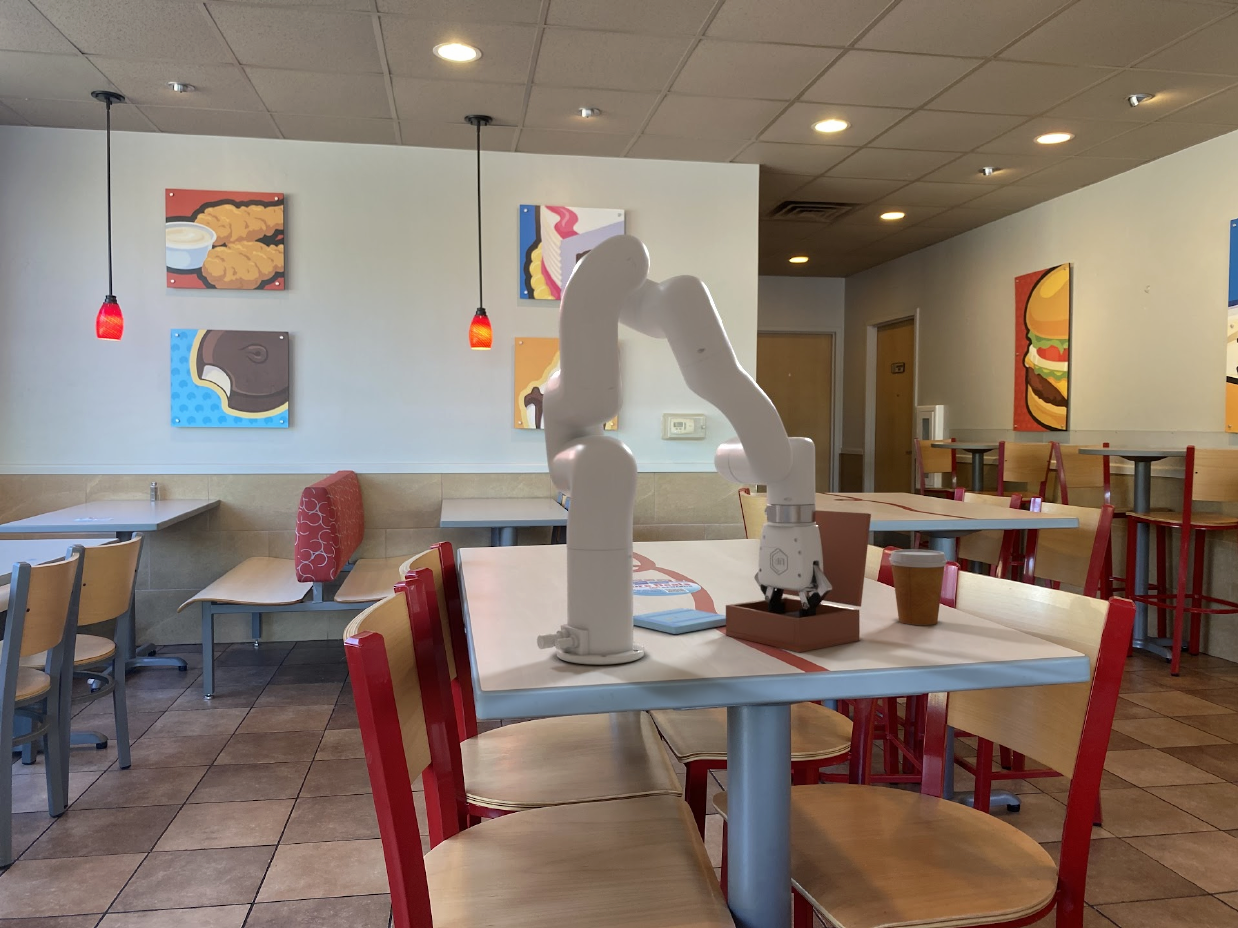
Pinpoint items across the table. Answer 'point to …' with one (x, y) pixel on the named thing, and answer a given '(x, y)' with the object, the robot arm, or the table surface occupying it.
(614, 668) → the table surface
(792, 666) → the table surface
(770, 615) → the flip case
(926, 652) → the table surface
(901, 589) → the disposable coffee cup
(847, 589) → the cover
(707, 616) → the light blue flat block
